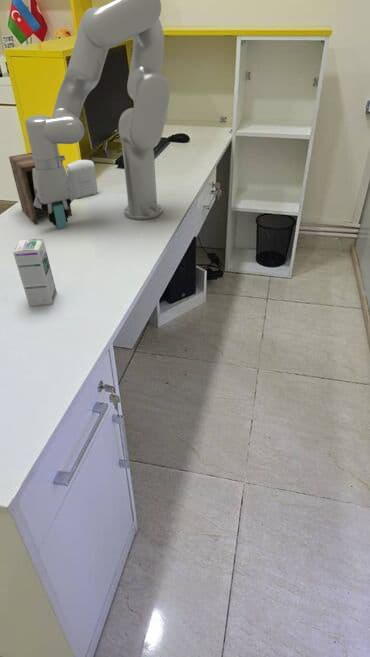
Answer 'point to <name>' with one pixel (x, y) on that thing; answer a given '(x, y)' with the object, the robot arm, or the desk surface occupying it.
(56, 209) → the teal and black gadget
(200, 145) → the desk surface
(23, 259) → the syrup box
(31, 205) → the walnut cubby
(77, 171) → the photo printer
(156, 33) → the robot arm
